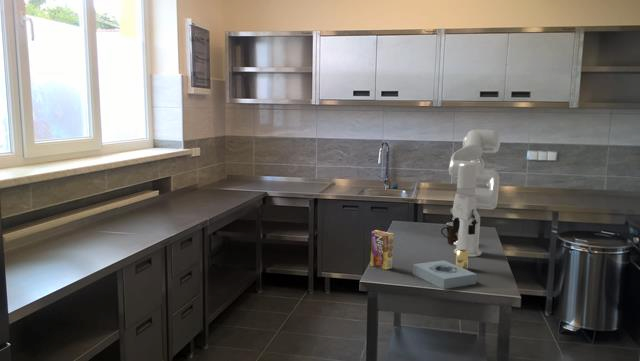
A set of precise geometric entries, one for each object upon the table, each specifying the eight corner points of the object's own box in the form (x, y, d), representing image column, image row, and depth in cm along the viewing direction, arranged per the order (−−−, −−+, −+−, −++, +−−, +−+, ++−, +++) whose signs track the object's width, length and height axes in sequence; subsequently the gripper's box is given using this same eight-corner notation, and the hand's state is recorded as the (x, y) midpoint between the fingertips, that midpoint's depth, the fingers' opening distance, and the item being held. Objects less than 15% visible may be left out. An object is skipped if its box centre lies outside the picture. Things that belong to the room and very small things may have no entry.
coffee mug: (461, 241, 273) (462, 222, 272) (464, 246, 265) (465, 226, 263) (438, 240, 274) (439, 221, 273) (440, 244, 266) (441, 225, 264)
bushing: (452, 267, 228) (454, 249, 227) (462, 266, 230) (463, 248, 229) (460, 271, 224) (461, 252, 223) (469, 269, 226) (471, 251, 225)
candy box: (392, 268, 226) (394, 233, 223) (386, 270, 222) (388, 234, 220) (376, 263, 232) (377, 229, 229) (370, 265, 228) (371, 231, 226)
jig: (412, 273, 218) (412, 264, 218) (443, 269, 225) (444, 260, 225) (443, 289, 201) (443, 278, 200) (476, 283, 207) (476, 274, 207)
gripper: (445, 189, 228) (443, 228, 230) (473, 195, 213) (470, 236, 215) (459, 188, 232) (457, 227, 234) (487, 194, 216) (484, 235, 218)
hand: (463, 231), depth 224 cm, fingers open, 9 cm apart
